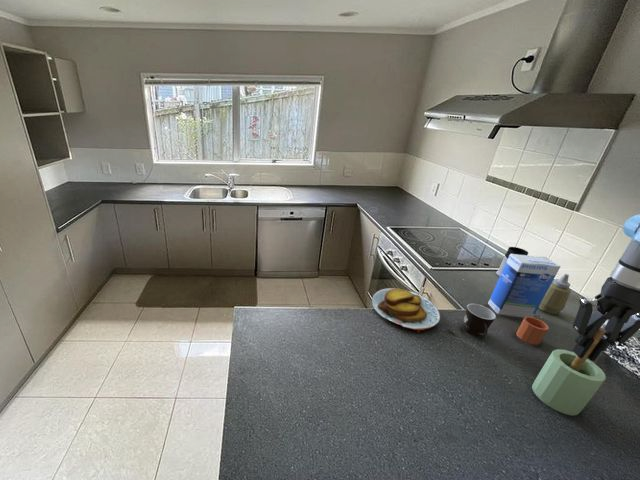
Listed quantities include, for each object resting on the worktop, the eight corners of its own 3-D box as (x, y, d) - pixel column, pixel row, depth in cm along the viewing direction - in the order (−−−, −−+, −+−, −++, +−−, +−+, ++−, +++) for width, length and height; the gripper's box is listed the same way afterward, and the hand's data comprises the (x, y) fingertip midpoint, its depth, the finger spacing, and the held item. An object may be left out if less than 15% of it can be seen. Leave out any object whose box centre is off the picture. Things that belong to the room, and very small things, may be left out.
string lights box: (520, 308, 121) (546, 256, 110) (533, 321, 114) (562, 266, 103) (486, 304, 122) (509, 252, 112) (496, 316, 116) (522, 262, 105)
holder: (511, 272, 148) (523, 247, 142) (528, 288, 135) (542, 261, 129) (492, 269, 150) (503, 245, 144) (508, 285, 137) (520, 258, 131)
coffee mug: (461, 320, 112) (469, 300, 108) (487, 332, 107) (497, 311, 103) (454, 335, 105) (462, 314, 101) (482, 349, 99) (492, 327, 95)
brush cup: (540, 340, 104) (550, 324, 101) (537, 349, 100) (547, 332, 97) (517, 330, 108) (526, 313, 105) (513, 338, 104) (522, 321, 101)
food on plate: (435, 344, 101) (440, 330, 98) (364, 315, 113) (367, 302, 111) (439, 306, 120) (443, 293, 117) (378, 285, 133) (381, 274, 130)
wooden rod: (572, 385, 81) (611, 330, 72) (571, 393, 78) (611, 336, 70) (555, 376, 83) (591, 322, 75) (553, 383, 81) (590, 328, 73)
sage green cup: (581, 401, 82) (606, 367, 77) (578, 423, 76) (604, 388, 71) (535, 376, 90) (555, 343, 84) (528, 395, 84) (549, 361, 78)
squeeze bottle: (565, 316, 117) (587, 280, 110) (546, 316, 117) (567, 280, 110) (547, 304, 124) (566, 269, 117) (529, 303, 124) (547, 268, 117)
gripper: (661, 282, 68) (609, 353, 77) (581, 269, 72) (541, 337, 82) (691, 301, 61) (630, 376, 71) (602, 284, 66) (556, 357, 75)
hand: (583, 355), depth 76 cm, fingers closed on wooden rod, 2 cm apart
